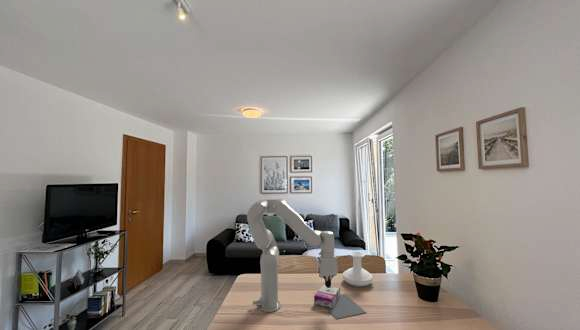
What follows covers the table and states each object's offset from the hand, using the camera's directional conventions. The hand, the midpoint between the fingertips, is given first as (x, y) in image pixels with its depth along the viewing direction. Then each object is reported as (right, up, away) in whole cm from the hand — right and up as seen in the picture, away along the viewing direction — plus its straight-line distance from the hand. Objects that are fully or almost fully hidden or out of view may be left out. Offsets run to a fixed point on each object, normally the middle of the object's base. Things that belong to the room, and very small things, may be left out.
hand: (328, 286), depth 137 cm
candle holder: (+25, -13, +32) cm, 43 cm away
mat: (+8, -12, +2) cm, 14 cm away
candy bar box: (-3, -9, 0) cm, 9 cm away
